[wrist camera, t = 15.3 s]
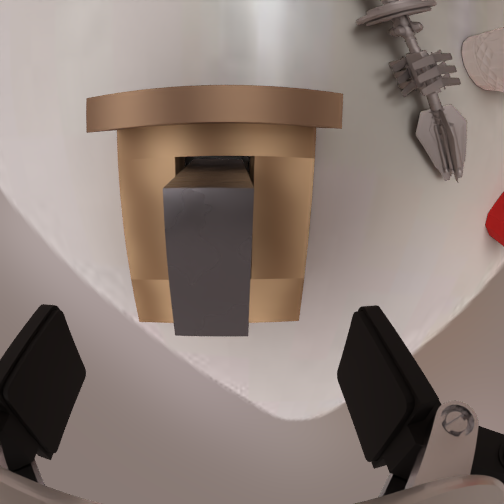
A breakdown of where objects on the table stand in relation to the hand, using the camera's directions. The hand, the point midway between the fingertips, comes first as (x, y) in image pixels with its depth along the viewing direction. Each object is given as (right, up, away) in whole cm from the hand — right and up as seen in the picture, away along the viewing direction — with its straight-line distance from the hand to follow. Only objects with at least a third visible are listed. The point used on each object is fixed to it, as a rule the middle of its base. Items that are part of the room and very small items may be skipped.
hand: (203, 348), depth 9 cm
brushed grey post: (-2, +7, +17) cm, 19 cm away
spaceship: (+13, +25, +11) cm, 30 cm away
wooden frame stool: (-2, +7, +17) cm, 19 cm away
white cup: (+28, +25, +12) cm, 39 cm away
